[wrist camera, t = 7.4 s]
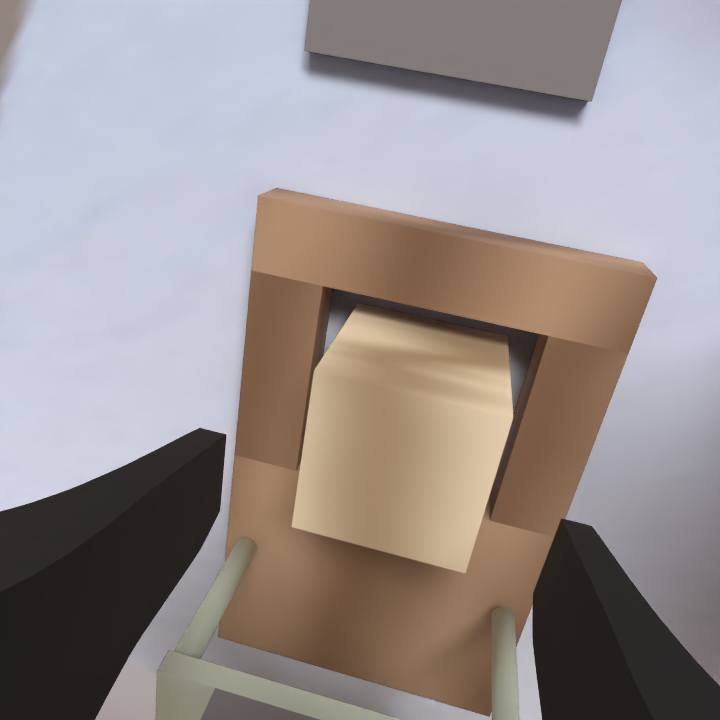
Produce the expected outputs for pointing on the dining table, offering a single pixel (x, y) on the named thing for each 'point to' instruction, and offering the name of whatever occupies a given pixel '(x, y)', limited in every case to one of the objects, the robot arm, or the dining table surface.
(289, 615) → the puzzle board
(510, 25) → the rubber pad
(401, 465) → the birch block
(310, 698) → the pale green toy table
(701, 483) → the dining table surface
